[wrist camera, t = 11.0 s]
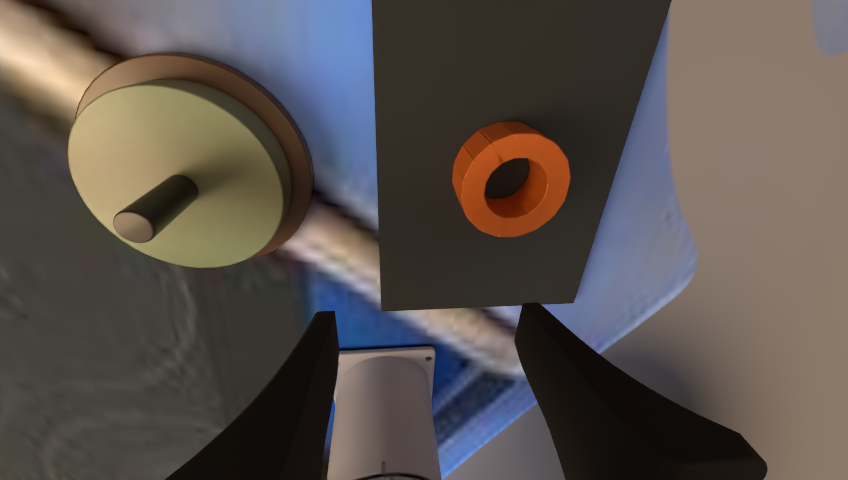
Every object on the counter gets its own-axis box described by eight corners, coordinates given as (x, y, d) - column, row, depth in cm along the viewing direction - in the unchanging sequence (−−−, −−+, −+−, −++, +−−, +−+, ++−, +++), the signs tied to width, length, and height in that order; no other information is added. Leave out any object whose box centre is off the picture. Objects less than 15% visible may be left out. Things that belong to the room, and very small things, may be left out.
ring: (538, 215, 22) (556, 236, 20) (449, 216, 21) (456, 238, 19) (559, 121, 19) (583, 134, 17) (456, 120, 18) (467, 132, 16)
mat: (569, 298, 26) (573, 303, 26) (381, 306, 25) (381, 311, 24) (676, -39, 16) (685, -42, 16) (370, -61, 15) (369, -64, 14)
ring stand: (323, 253, 22) (304, 328, 17) (134, 257, 21) (44, 341, 15) (299, 56, 17) (258, 70, 11) (40, 48, 16) (-155, 57, 10)
